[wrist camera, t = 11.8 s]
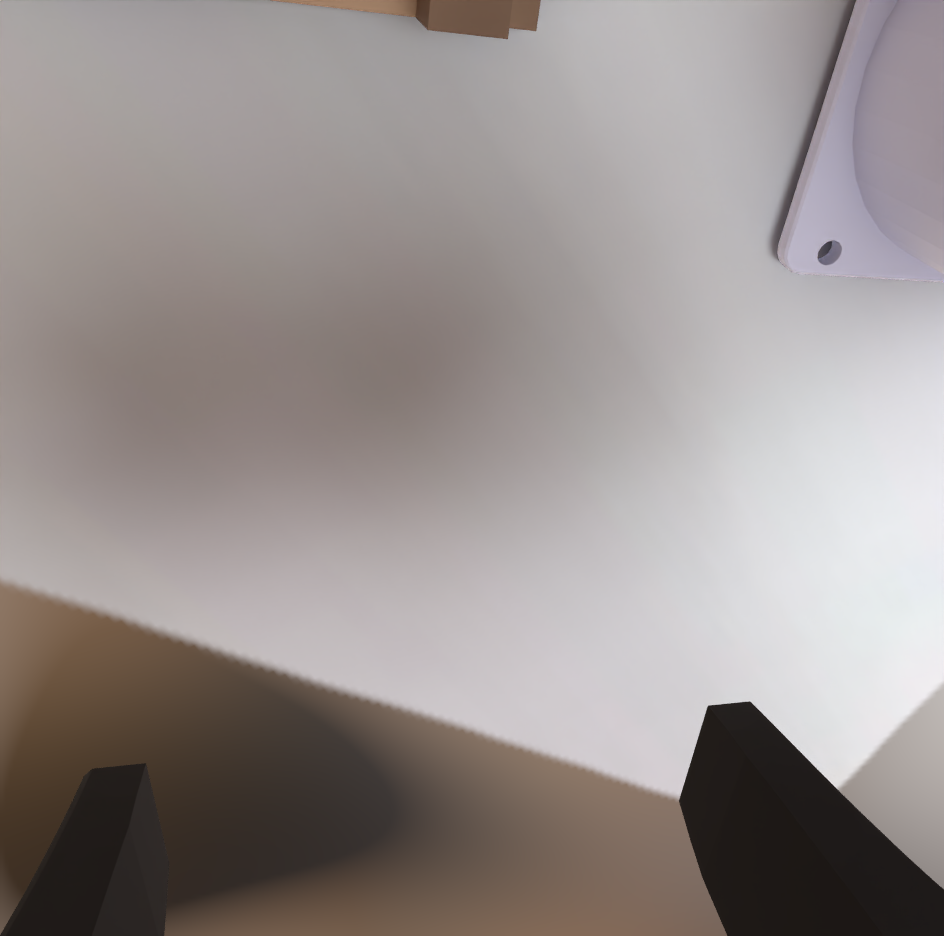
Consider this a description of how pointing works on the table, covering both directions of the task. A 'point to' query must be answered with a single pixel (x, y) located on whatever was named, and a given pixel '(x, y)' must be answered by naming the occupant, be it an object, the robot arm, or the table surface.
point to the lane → (451, 13)
